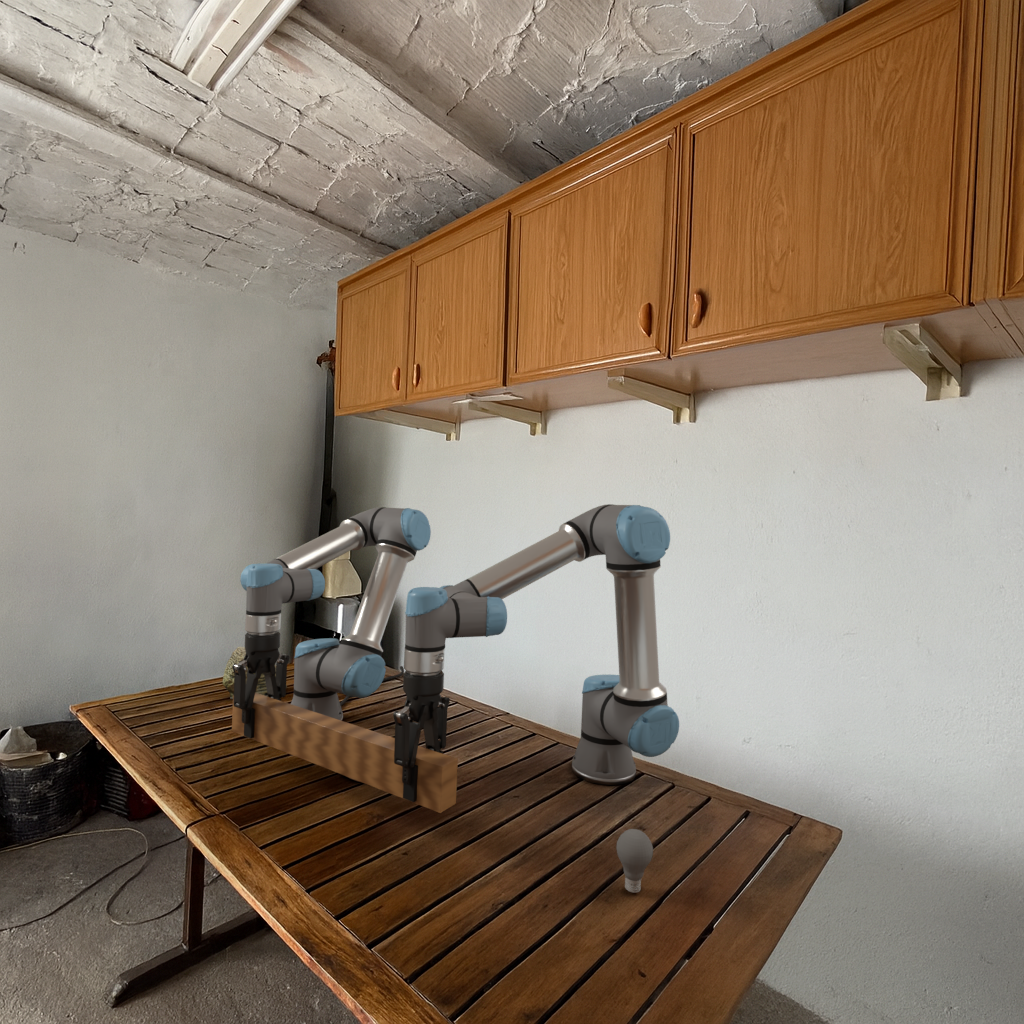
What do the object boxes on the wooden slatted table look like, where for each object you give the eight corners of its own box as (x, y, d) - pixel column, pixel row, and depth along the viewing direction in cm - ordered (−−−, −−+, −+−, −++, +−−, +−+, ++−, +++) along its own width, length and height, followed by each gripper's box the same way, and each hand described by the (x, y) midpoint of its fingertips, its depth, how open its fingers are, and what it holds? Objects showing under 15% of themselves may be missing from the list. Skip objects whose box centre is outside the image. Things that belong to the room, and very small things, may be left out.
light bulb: (610, 879, 108) (613, 822, 108) (644, 879, 109) (647, 822, 109) (619, 902, 102) (622, 840, 102) (655, 901, 103) (658, 840, 103)
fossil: (218, 695, 195) (220, 647, 195) (278, 685, 208) (279, 640, 207) (228, 703, 189) (230, 653, 188) (289, 692, 201) (290, 645, 201)
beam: (231, 731, 147) (233, 695, 147) (249, 725, 151) (250, 690, 150) (440, 813, 113) (442, 766, 113) (456, 803, 117) (458, 758, 117)
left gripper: (237, 640, 135) (233, 749, 135) (305, 628, 150) (301, 726, 150) (217, 635, 139) (213, 740, 139) (285, 624, 154) (281, 719, 154)
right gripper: (406, 685, 109) (401, 819, 109) (468, 664, 124) (463, 783, 124) (375, 676, 113) (370, 806, 114) (438, 658, 128) (434, 772, 128)
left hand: (259, 733), depth 145 cm, fingers closed on beam, 5 cm apart
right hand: (419, 793), depth 119 cm, fingers closed on beam, 5 cm apart
